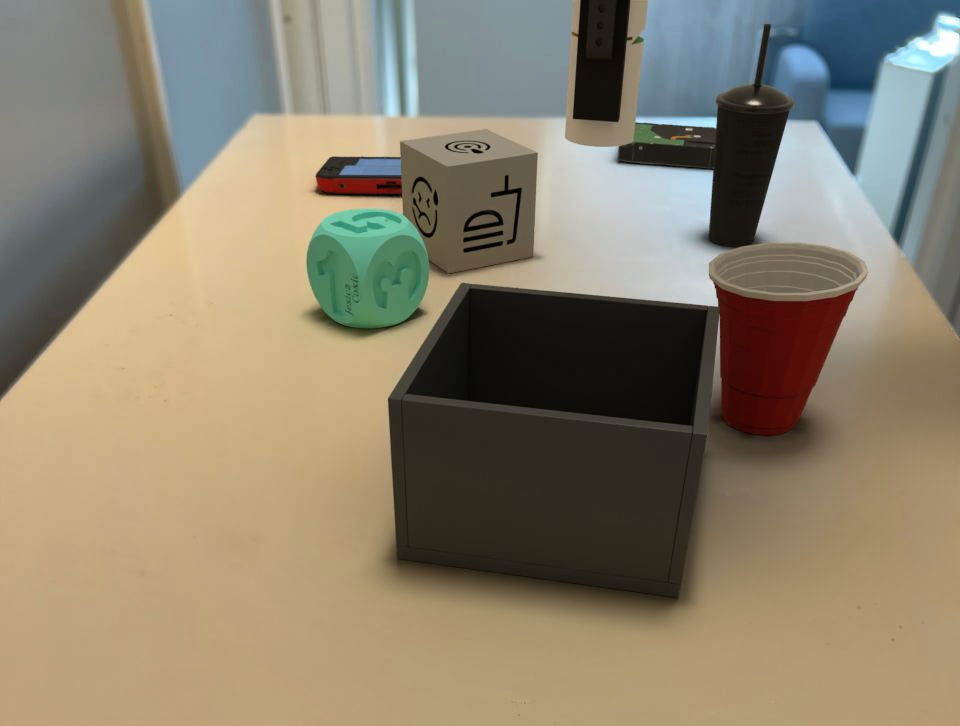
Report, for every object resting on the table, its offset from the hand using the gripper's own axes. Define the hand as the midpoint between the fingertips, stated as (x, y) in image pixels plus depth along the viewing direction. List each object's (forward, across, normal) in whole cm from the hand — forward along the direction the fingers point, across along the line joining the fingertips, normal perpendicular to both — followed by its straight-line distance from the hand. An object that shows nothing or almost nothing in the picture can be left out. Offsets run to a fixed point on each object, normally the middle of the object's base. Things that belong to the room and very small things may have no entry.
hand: (602, 108), depth 61 cm
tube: (+2, 0, 0) cm, 2 cm away
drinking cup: (+22, -46, +10) cm, 52 cm away
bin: (+22, +10, 0) cm, 24 cm away
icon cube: (+22, -35, -17) cm, 45 cm away
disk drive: (+22, -77, +1) cm, 80 cm away
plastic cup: (+22, -5, +13) cm, 26 cm away
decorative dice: (+22, -17, -22) cm, 36 cm away
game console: (+22, -56, -34) cm, 69 cm away
